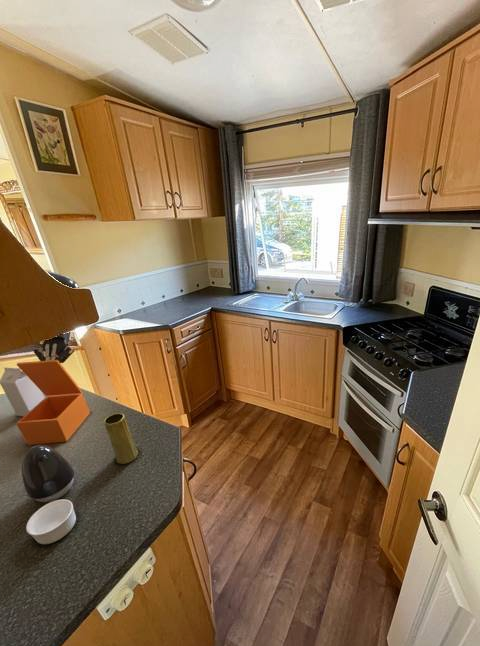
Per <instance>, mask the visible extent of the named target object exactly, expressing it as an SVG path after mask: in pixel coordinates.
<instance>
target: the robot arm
mask: <svg viewBox="0 0 480 646" xmlns="http://www.w3.org/2000/svg"><path fill="white" fill-rule="evenodd" d="M46 271H47V272H48V273H49V274H50V275H51V276H53V277H54V278H55V279H56V280H58V281H59V282H61V283H62V284H64V285H67V286H69V287H72V288H79V289H80V285H79V284H78V283H77V282H76V281H75V280H74V279H73V278H71V277H69V276H67V275H64V274H61V273H57V272H53V271H50V270H46ZM70 338H71V331H70V332H69V333H65V334H62V335H59V336H57V337H54V338H52V339H49V340H45V341H44V340H43V342H42V344H41V347H39V348H38V349H37V348H36V349H34V350H33V353H34V355H35V356H36V357H37V358H38V360H39V361H49V360H58V361H59V362H60V363H61V364H64V363H65V362H66V361H67V360H68V359H69V358H70V357H71V356H72V355H73V353H75V349H74V348H72V347H70V345H69V342H70Z"/></svg>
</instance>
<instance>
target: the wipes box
mask: <svg viewBox="0 0 480 646" xmlns="http://www.w3.org/2000/svg"><path fill="white" fill-rule="evenodd" d="M90 414H91V412H90V409H89V407H88V404H87V402H86V399H85V397H84V394H83V393H78V394H65V395H52V396H45V397H44V399H43V400H42V401H41V402H40V403H39V404H38V405H36V406H35V407H34V408H33V409H32V410H31V411H30V412H28V413H27V414H26V415H25V416H22V417H21V418H20V419H19V420H18V421H17V422H16V423H15V425H16V427H18V430H19V431H20V433H21V436H22V437H23V439H24V441H25V443H26V444H27V445H28V446H29V445H43V444H52V443H54V444H55V443H64V442H68V441H69V440H70V438H71V437H72V436H73V435H74V434H75V433H76V432H77V430H78V429H79V427H80V426H81V425H82V424H83V423H84V422H85V420H86V419H87V418H88V416H89V415H90Z"/></svg>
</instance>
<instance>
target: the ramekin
mask: <svg viewBox="0 0 480 646" xmlns="http://www.w3.org/2000/svg"><path fill="white" fill-rule="evenodd" d="M76 521H77V515H76V513H75V509H74V504H73V502H72V501H71V500H69V499H66V498H65V499H64V498H63V499H56V500H53V501H50V502H47V504H45V505H43V506H42V507H40V508H39V509H38V510H36V511H35V512H34V513H33V514H32V515H31V516H30V517H29V519H28V520H27V523H26V526H25V531H26V532H27V534H29V536H31V537H32V538H33V539H34V540H35V541H36V543H38V544H41V545H50V544H52V543H55V542H57V541H59V540H61V539H63V538H64V537H65V536H67V534H69V532H71V531H72V529H73V528H74V526H75V524H76Z"/></svg>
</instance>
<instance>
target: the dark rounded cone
mask: <svg viewBox="0 0 480 646" xmlns="http://www.w3.org/2000/svg"><path fill="white" fill-rule="evenodd" d="M21 476H22V478H21V479H22V482H23V483H22V484H23V486H24V490H25V492H26V495H27V496H28V497H29V498H31V499H33V500H35V501H36V502H40V503H50V502H53V501H56V500H59V499H60V498H61V497H63V496H64V495H66V494H67V493H68V492H69V491H70V489H71V488H72V485H73V483H74V479H75V478H74V477H75V471H74V468H73V467H72V465H71V464H70V462H69V461H68V460H67V459H66V458H65V457H64V456H63V455H62V454H61V453H59V451H58V450H55V449H54V448H52V447H51V446H48V445H46V444H36V445H34V446H31V447H30V448H28V449H27V451H26V452H25V453H24V454H23V457H22V461H21Z"/></svg>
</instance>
